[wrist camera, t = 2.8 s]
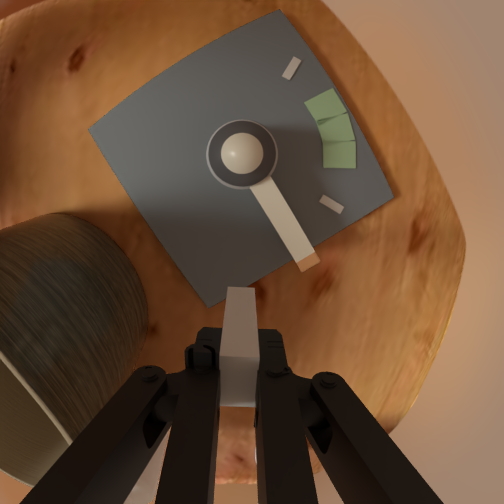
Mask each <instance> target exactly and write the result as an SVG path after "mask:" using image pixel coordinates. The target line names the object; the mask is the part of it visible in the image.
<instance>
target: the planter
mask: <svg viewBox="0 0 504 504" xmlns="http://www.w3.org/2000/svg"><path fill="white" fill-rule="evenodd" d="M147 329H148V308H147V302H146V297H145V293H144V290H143V287H142V284H141V282H140V279H139V277H138V275H137V273H136V271H135V269H134V267H133V266H132V264H131V262H130V261H129V259H128V258H127V256H126V255H125V254H124V252H123V251H122V250H121V248H120V247H119V246H118V245H117V244H116V243H115V242H114V241H113V240H112V239H111V238H110V237H109V236H108V235H107V234H105V233H104V232H103V231H102V230H100V229H99V228H97V227H96V226H94V225H93V224H91V223H89V222H87V221H85V220H83V219H80V218H78V217H75V216H71V215H67V214H47V215H42V216H39V217H35V218H33V219H30V220H27V221H24V222H21V223H18V224H15V225H12V226H9V227H6V228H3V229H0V470H1V471H2V472H4V473H5V474H7V475H8V476H10V477H12V478H14V479H15V480H17V481H19V482H21V483H23V484H25V485H27V486H30V487H32V488H33V487H34V486H35V485H36V484H37V483H38V482H39V480H40V479H41V478H42V477H43V476H44V475H45V473H46V472H47V471H48V470H49V469H50V468H51V466H52V465H53V464H54V463H55V462H56V461H57V459H58V458H59V457H60V456H61V455H62V454H63V453H64V451H65V450H66V449H67V448H68V447H69V446H70V445H71V443H72V442H73V441H74V440H75V439H76V438H77V436H78V435H79V434H80V433H81V432H82V431H83V430H84V428H85V427H86V426H87V425H88V424H89V423H90V422H91V420H92V419H93V418H94V417H95V416H96V415H97V414H98V412H99V411H100V410H101V409H102V408H103V407H104V406H105V404H106V403H107V402H108V401H109V400H110V399H111V398H112V397H113V395H114V394H115V393H116V392H117V391H118V390H119V389H120V387H121V386H122V385H123V384H124V383H125V382H126V381H127V379H128V378H129V377H130V376H131V374H132V371H133V369H134V366H135V363H136V361H137V358H138V356H139V354H140V351H141V349H142V347H143V344H144V341H145V338H146V334H147Z"/></svg>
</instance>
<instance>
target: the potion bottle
mask: <svg viewBox="0 0 504 504" xmlns="http://www.w3.org/2000/svg"><path fill="white" fill-rule="evenodd" d="M168 432H169V430H168ZM168 432H167V433H166V435H165V437H164V438H163V440H162V442H161V443H160V445H159V447H158V448H157V450H156V452H155V453H154V455H153V457H152V458H151V460H150V461H149V463H148V465H147V466H146V468H145V470H144V471H143V473H142V475H141V476H140V478H139V479H138V481H137V483H136V484H135V486H134V487H133V489H132V491H131V492H130V494H129V495H128V497H127V499H126V500H125V502H124V503H123V504H148V503H150V502H151V501H153V498H154V497H155V494H156V490H157V485H158V480H159V475H160V470H161V465H162V460H163V456H164V451H165V446H166V442H167V437H168Z"/></svg>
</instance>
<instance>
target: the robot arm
mask: <svg viewBox="0 0 504 504" xmlns="http://www.w3.org/2000/svg"><path fill="white" fill-rule="evenodd" d="M185 365H186V369H185V370H183V371H181V372H178V373H172V374H166V373H165V371H164V370H163V369H162V368H160V367H157V366H152V365H150V366H143V367H140V368H138V369H137V370H136V371H135V372H134V373H133V374H132V375H131V376H130V377H129V378H128V379H127V381H126V382H125V383H124V384H123V385H122V386H121V387H120V389H119V390H118V391H117V392H116V393H115V394H114V395H113V397H112V398H111V399H110V400H109V401H108V402H107V403H106V404H105V406H104V407H103V408H102V409H101V410H100V411H99V412H98V414H97V415H96V416H95V417H94V418H93V419H92V420H91V422H90V423H89V424H88V425H87V426H86V427H85V428H84V430H83V431H82V432H81V433H80V434H79V435H78V436H77V438H76V439H75V440H74V441H73V442H72V443H71V445H70V446H69V447H68V448H67V449H66V450H65V451H64V453H63V454H62V455H61V456H60V457H59V458H58V459H57V461H56V462H55V463H54V464H53V465H52V466H51V468H50V469H49V470H48V471H47V472H46V473H45V475H44V476H43V477H42V478H41V479H40V480H39V482H38V483H37V484H36V485H35V486H34V487H33V488H32V490H31V491H30V492H29V493H28V494H27V495H26V497H25V498H24V499H23V500H22V501H21V503H20V504H123V503H124V502H125V500H126V499H127V497H128V495H129V494H130V492H131V491H132V489H133V487H134V486H135V484H136V483H137V481H138V479H139V478H140V476H141V475H142V473H143V471H144V470H145V468H146V466H147V465H148V463H149V461H150V460H151V458H152V457H153V455H154V453H155V452H156V450H157V448H158V447H159V445H160V443H161V442H162V440H163V438H164V437H165V435H166V433H167V432H168V430H169V429H170V427H171V431H170V435H169V440H168V444H167V448H166V453H165V457H164V462H163V467H162V471H161V476H160V481H159V486H158V490H157V495H156V500H155V504H213V501H214V486H215V471H216V457H217V443H218V430H219V417H220V406H236V407H255V404H256V409H255V419H254V427H255V433H256V460H257V486H258V504H318V499H317V494H316V488H315V483H314V477H313V472H312V467H311V462H310V456H309V451H308V446H307V441H306V437H307V439H308V440H309V442H310V444H311V446H312V448H313V449H314V451H315V453H316V455H317V457H318V458H319V460H320V462H321V464H322V466H323V467H324V469H325V471H326V472H327V474H328V476H329V478H330V480H331V481H332V483H333V485H334V487H335V489H336V490H337V492H338V494H339V495H340V497H341V499H342V501H343V502H344V504H444V503H443V502H442V501H441V500H440V499H439V497H438V496H437V495H436V494H435V492H434V491H433V490H432V489H431V488H430V486H429V485H428V484H427V483H426V481H425V480H424V479H423V478H422V476H421V475H420V474H419V473H418V471H417V470H416V469H415V468H414V467H413V465H412V464H411V463H410V462H409V460H408V459H407V458H406V457H405V455H404V454H403V453H402V452H401V450H400V449H399V448H398V447H397V445H396V444H395V443H394V442H393V440H392V439H391V438H390V437H389V435H388V434H387V433H386V432H385V430H384V429H383V428H382V427H381V425H380V424H379V423H378V422H377V420H376V419H375V418H374V417H373V415H372V414H371V413H370V412H369V410H368V409H367V408H366V407H365V405H364V404H363V403H362V402H361V400H360V399H359V398H358V397H357V395H356V394H355V393H354V392H353V390H352V389H351V388H350V387H349V385H348V384H347V383H346V382H345V380H344V379H343V378H342V377H341V376H339V375H338V374H335V373H332V372H320V373H317V374H316V375H314V376H313V378H312V379H308V378H303V377H300V376H297V375H295V374H294V373H293V372H292V370H291V368H290V367H289V366H288V364H287V359H286V354H285V349H284V344H283V339H282V335H281V334H280V333H279V332H278V331H277V330H276V329H258V327H257V314H256V300H255V288H247V287H228V289H227V297H226V305H225V313H224V321H223V328H211V327H203V328H202V329H201V330H200V331H199V332H198V334H197V338H196V342H195V344H192V345H190V346H188V347H187V348H186V349H185ZM171 425H172V426H171ZM305 435H306V436H305Z"/></svg>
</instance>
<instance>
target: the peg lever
mask: <svg viewBox="0 0 504 504" xmlns="http://www.w3.org/2000/svg"><path fill="white" fill-rule="evenodd" d="M208 157H209V162H210V165H211V168H212V170H213V171H214V173H215V174H216V175H217V176H218V177H219V178H220V179H221V180H222V181H224V182H226V183H228V184H230V185H233V186H238V187H245V186H249V187H250V189H251V190H252V192H253V194H254V195H255V197H256V198H257V200H258V202H259V203H260V205H261V206H262V208H263V210H264V211H265V213H266V214H267V216H268V218H269V219H270V221H271V223H272V224H273V226H274V227H275V229H276V231H277V232H278V234H279V235H280V237H281V239H282V240H283V242H284V244H285V245H286V247H287V249H288V250H289V252H290V254H291V255H292V257H293V259H294V260H295V262H296V263H297V265H298V267H299V268H300V270H301V272H304V271H305V270H307V269H309V268H310V267H312V266H314V265H315V264H317V263H319V262H320V260H319V258H318V256H317V254H316V252H315V251H314V249H313V247H312V245H311V244H310V242H309V240H308V238H307V237H306V235H305V233H304V232H303V230H302V228H301V226H300V225H299V223H298V221H297V220H296V218H295V216H294V214H293V213H292V211H291V209H290V208H289V206H288V204H287V203H286V201H285V199H284V198H283V196H282V194H281V193H280V191H279V189H278V188H277V186H276V185H275V183H274V181H273V180H272V178H271V176H270V175H269V173H270V171H271V170H272V168H273V166H274V163H275V159H276V148H275V144H274V141H273V139H272V137H271V136H270V134H269V133H268V132H267V131H266V130H265V129H264V128H263V127H261V126H260V125H258V124H256V123H253V122H250V121H235V122H231V123H229V124H227V125H225V126H223V127H222V128H220V129H219V130H218V131H217V132H216V134H215V135H214V136H213V138H212V140H211V142H210V145H209V150H208Z"/></svg>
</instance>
